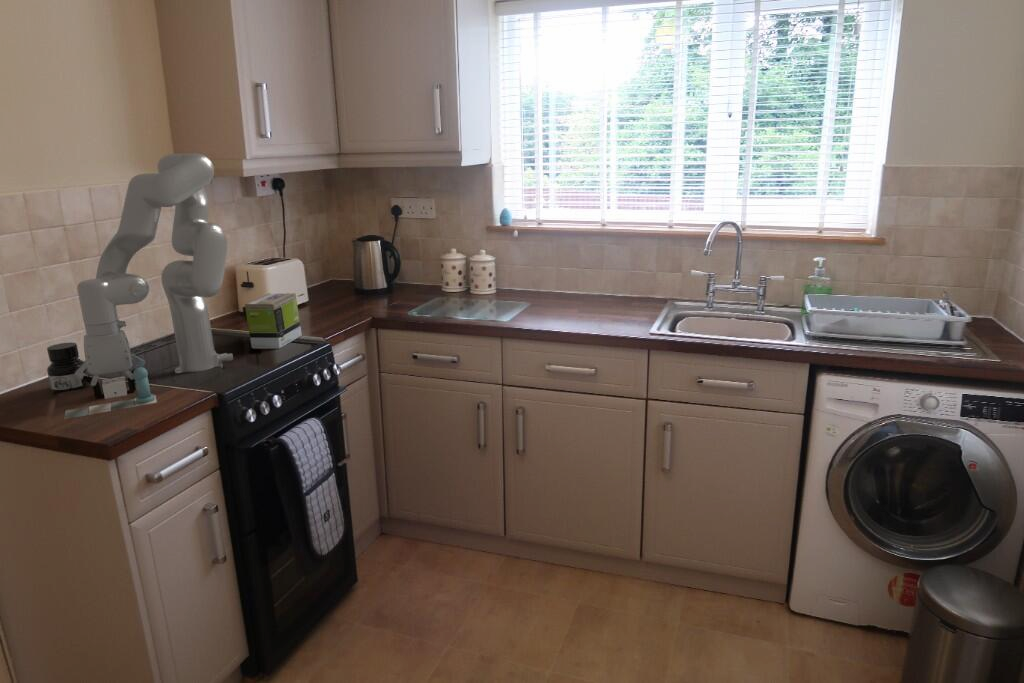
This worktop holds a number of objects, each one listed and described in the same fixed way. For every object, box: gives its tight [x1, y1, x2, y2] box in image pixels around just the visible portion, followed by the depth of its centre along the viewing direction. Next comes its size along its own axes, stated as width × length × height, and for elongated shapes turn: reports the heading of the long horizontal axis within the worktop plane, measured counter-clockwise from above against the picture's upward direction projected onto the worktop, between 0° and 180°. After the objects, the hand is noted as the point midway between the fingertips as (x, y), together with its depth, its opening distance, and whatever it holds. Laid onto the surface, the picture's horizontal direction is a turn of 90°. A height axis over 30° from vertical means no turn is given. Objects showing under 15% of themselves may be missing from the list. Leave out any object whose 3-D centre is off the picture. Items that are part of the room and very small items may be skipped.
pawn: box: [133, 366, 155, 403], centre depth 179 cm, size 4×4×9 cm
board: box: [63, 394, 158, 420], centre depth 177 cm, size 20×7×1 cm, turn 118°
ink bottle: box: [46, 342, 90, 394], centre depth 195 cm, size 10×9×12 cm
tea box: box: [244, 292, 303, 350], centre depth 231 cm, size 15×10×15 cm, turn 168°
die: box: [101, 376, 128, 400], centre depth 186 cm, size 5×5×5 cm
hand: (116, 395), depth 186 cm, fingers open, 6 cm apart
